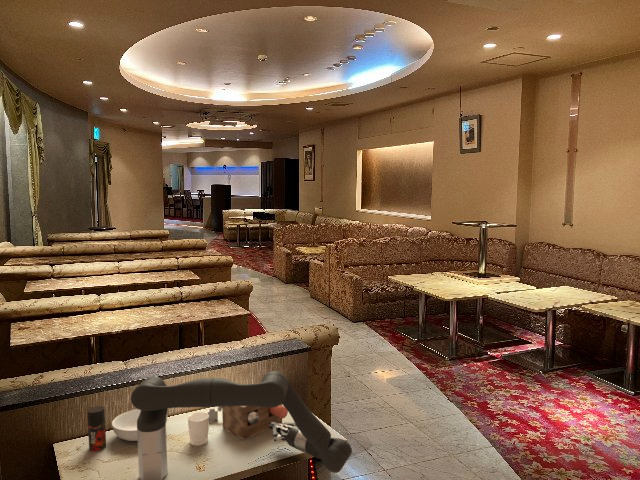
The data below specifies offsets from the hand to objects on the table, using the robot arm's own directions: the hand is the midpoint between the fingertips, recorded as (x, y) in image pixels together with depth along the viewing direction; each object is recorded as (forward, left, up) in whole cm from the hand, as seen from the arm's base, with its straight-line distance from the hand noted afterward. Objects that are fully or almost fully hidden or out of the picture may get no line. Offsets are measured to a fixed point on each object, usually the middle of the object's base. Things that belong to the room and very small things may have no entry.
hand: (270, 424), depth 186 cm
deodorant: (+17, +63, -8) cm, 66 cm away
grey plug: (+12, +8, -2) cm, 14 cm away
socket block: (+17, +4, -8) cm, 19 cm away
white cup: (+10, +26, -8) cm, 29 cm away
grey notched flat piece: (+27, +18, -8) cm, 34 cm away
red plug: (+13, -4, -2) cm, 14 cm away
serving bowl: (+23, +48, -8) cm, 54 cm away
